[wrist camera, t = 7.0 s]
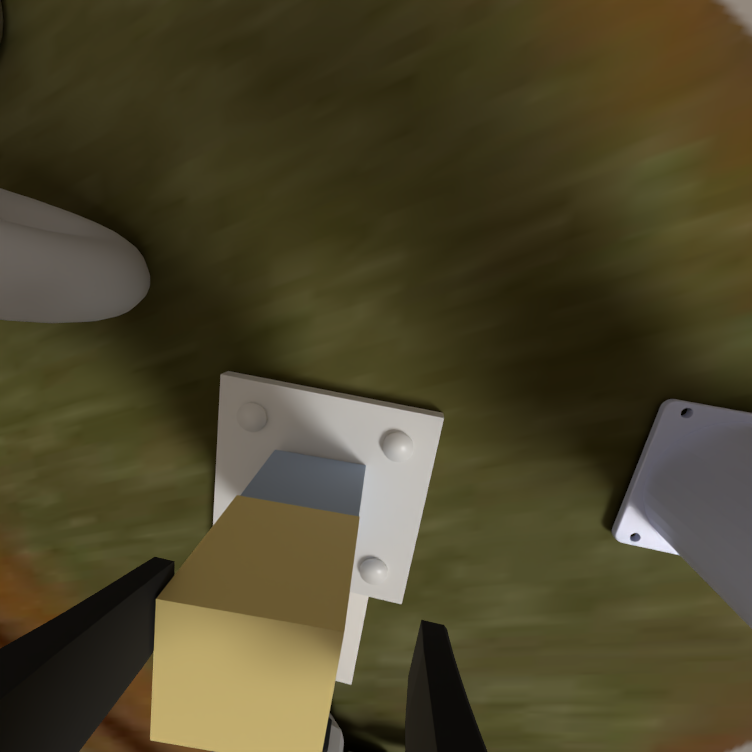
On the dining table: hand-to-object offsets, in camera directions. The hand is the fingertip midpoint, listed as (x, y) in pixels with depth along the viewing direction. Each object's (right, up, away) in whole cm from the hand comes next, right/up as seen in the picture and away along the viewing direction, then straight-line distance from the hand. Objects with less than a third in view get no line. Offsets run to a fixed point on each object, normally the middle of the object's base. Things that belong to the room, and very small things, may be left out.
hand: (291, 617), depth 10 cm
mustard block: (-1, -1, +5) cm, 5 cm away
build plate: (-1, 0, +11) cm, 11 cm away
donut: (-12, +13, +9) cm, 20 cm away
